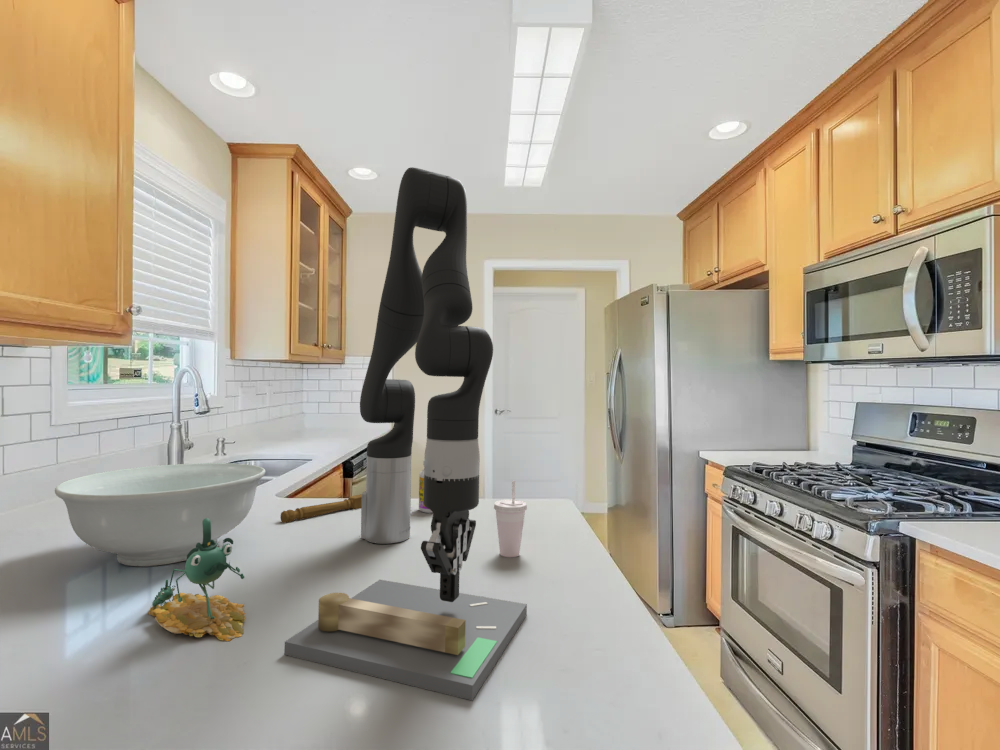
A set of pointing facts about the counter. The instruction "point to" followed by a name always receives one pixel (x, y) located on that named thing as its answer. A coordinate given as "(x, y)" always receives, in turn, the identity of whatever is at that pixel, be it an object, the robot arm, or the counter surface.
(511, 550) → the smoothie
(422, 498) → the supplement bottle
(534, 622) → the counter surface
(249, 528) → the counter surface
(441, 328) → the robot arm
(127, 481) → the bowl
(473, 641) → the dial plate
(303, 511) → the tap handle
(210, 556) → the green cartoon bug figurine
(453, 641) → the dial lever
